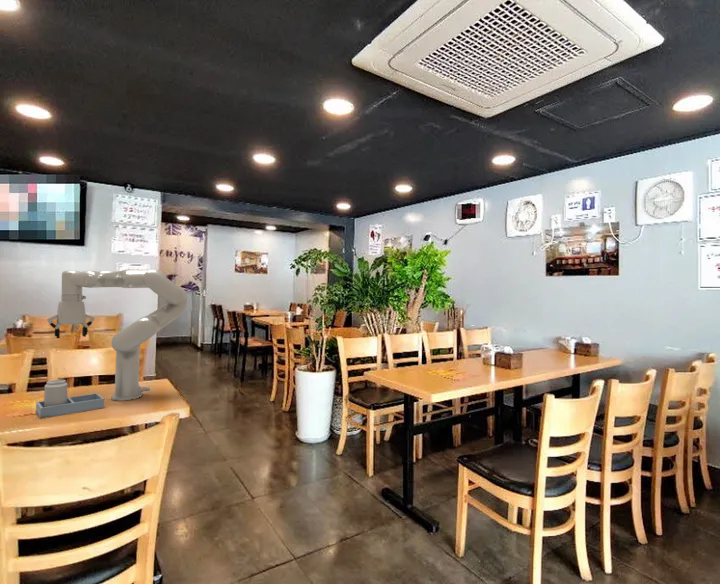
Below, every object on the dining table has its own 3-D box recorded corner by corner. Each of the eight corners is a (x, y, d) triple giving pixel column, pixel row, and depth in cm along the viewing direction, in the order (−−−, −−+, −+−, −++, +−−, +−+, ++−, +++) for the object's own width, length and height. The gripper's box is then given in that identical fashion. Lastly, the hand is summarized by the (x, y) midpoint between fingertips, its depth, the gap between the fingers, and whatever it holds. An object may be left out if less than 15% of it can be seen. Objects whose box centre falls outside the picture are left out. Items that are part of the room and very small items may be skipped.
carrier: (97, 402, 181) (97, 393, 180) (104, 407, 173) (104, 398, 173) (36, 411, 165) (36, 401, 165) (40, 418, 158) (40, 408, 157)
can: (60, 412, 162) (61, 382, 162) (39, 413, 161) (40, 383, 161) (70, 407, 170) (71, 378, 170) (50, 407, 168) (51, 378, 168)
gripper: (92, 298, 190) (91, 334, 190) (46, 298, 178) (45, 337, 178) (96, 298, 185) (96, 336, 185) (49, 299, 172) (48, 339, 173)
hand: (71, 337), depth 181 cm, fingers open, 9 cm apart
